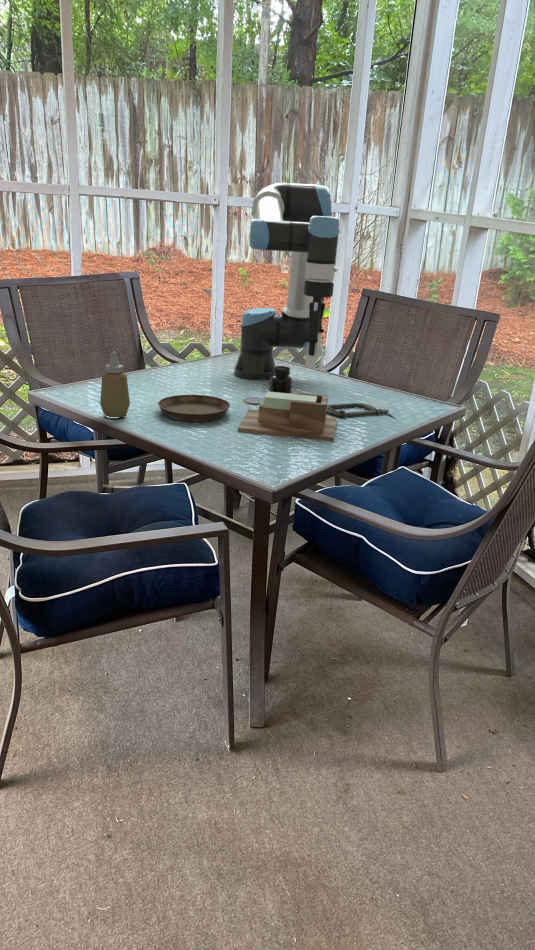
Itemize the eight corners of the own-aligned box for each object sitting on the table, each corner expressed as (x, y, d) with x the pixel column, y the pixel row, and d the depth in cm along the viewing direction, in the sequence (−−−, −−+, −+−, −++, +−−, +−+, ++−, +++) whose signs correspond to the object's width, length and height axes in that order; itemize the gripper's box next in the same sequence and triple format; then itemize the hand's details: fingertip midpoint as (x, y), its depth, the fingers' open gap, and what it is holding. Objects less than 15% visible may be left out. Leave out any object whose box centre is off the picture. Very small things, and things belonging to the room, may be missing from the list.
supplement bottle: (288, 410, 201) (291, 371, 197) (266, 407, 202) (268, 368, 198) (291, 404, 207) (294, 366, 203) (270, 401, 208) (273, 363, 204)
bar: (266, 401, 188) (267, 391, 187) (316, 406, 187) (317, 396, 186) (263, 407, 183) (264, 397, 182) (314, 412, 181) (315, 401, 180)
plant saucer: (152, 405, 198) (152, 394, 197) (219, 402, 205) (220, 392, 204) (164, 426, 180) (164, 415, 179) (238, 423, 187) (238, 412, 186)
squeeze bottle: (117, 422, 180) (115, 357, 173) (94, 416, 184) (91, 352, 177) (136, 415, 187) (135, 352, 180) (114, 410, 190) (112, 347, 184)
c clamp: (373, 405, 214) (374, 397, 212) (399, 422, 199) (401, 413, 198) (315, 408, 207) (316, 399, 206) (338, 425, 192) (339, 416, 191)
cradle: (248, 412, 196) (249, 384, 193) (336, 421, 194) (339, 392, 191) (237, 431, 180) (239, 400, 177) (333, 440, 177) (336, 410, 174)
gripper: (331, 286, 159) (323, 373, 167) (335, 276, 182) (328, 353, 190) (300, 284, 160) (294, 370, 168) (308, 274, 183) (302, 351, 191)
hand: (312, 361), depth 179 cm, fingers open, 13 cm apart
